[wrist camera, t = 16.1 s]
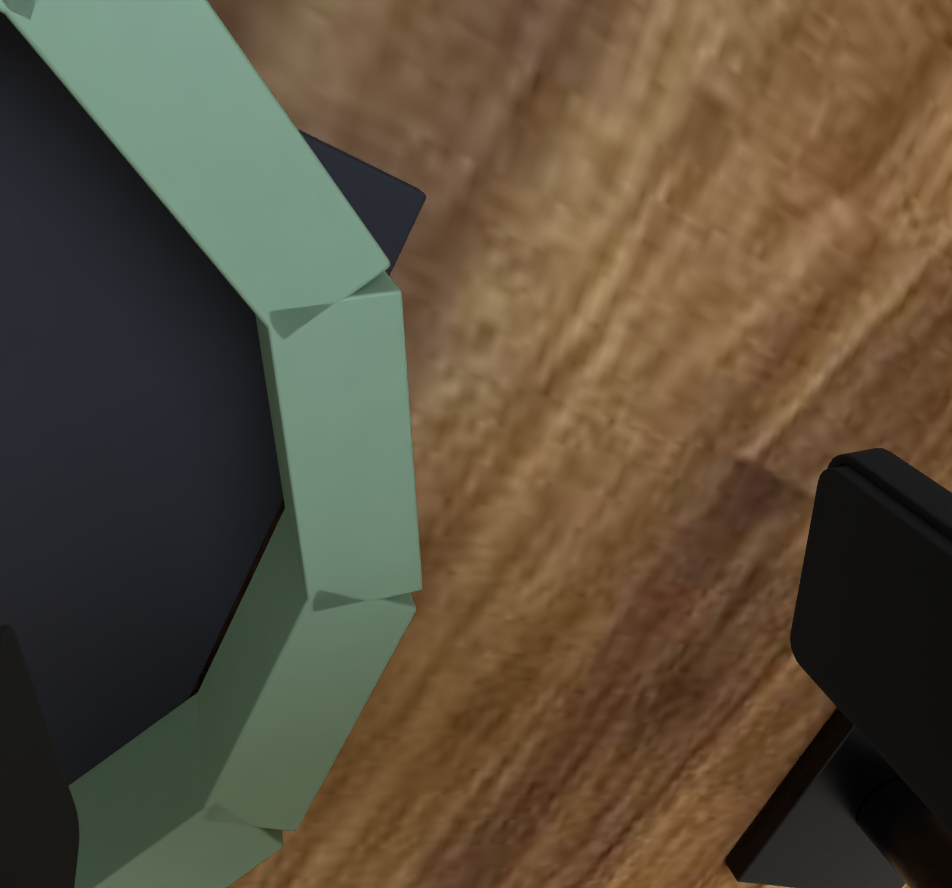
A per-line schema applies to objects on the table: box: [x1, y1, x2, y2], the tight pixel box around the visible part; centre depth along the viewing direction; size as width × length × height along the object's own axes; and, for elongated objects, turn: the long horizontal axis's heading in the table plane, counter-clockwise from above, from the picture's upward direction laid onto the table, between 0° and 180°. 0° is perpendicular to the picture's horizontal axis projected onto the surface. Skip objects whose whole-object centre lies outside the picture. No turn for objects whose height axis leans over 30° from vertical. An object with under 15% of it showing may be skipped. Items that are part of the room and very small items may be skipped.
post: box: [725, 708, 952, 888], centre depth 27 cm, size 8×8×6 cm
